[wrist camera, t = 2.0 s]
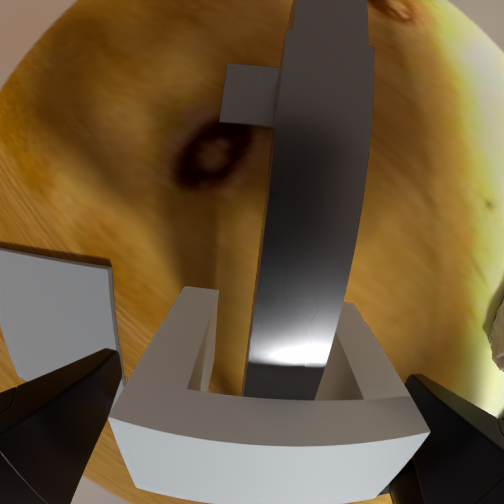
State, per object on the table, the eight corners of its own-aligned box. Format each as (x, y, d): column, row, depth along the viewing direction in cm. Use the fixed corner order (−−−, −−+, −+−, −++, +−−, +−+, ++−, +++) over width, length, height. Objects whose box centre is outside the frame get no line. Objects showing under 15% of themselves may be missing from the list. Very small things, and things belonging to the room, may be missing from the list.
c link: (333, 368, 11) (374, 498, 5) (184, 354, 11) (136, 487, 5) (353, 303, 10) (430, 431, 4) (185, 285, 10) (107, 417, 4)
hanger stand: (284, 444, 15) (289, 539, 8) (203, 437, 15) (185, 532, 8) (353, 86, 10) (451, 10, 3) (228, 68, 10) (191, -43, 3)
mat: (133, 416, 15) (131, 420, 14) (20, 373, 15) (18, 376, 14) (111, 267, 12) (107, 270, 11) (-12, 245, 12) (-16, 246, 11)
